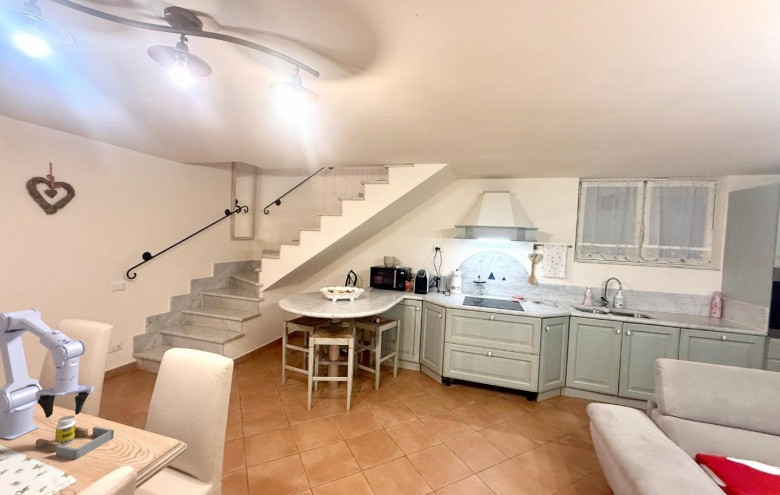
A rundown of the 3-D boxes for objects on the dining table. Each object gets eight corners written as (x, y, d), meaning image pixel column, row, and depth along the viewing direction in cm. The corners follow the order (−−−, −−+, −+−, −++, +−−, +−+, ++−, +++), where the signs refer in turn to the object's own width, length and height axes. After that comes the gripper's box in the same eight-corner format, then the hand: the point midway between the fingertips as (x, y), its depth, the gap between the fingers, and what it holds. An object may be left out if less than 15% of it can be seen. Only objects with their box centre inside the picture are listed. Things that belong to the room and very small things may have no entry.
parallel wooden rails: (35, 447, 103) (36, 440, 103) (67, 431, 112) (67, 425, 112) (57, 451, 102) (57, 444, 102) (87, 435, 111) (88, 429, 111)
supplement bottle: (61, 447, 104) (62, 423, 104) (50, 444, 105) (52, 420, 105) (78, 439, 109) (79, 415, 109) (68, 436, 110) (69, 413, 110)
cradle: (55, 455, 100) (56, 446, 100) (94, 434, 112) (95, 426, 112) (75, 459, 99) (76, 450, 99) (113, 437, 111) (113, 429, 111)
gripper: (30, 383, 100) (27, 424, 100) (87, 379, 106) (84, 417, 106) (44, 374, 107) (41, 412, 107) (97, 371, 113) (94, 407, 113)
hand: (63, 414), depth 107 cm, fingers open, 7 cm apart
